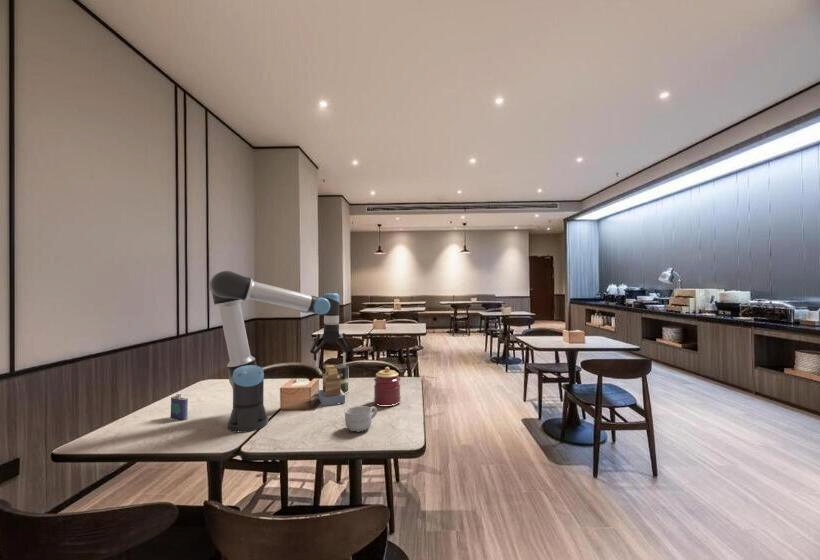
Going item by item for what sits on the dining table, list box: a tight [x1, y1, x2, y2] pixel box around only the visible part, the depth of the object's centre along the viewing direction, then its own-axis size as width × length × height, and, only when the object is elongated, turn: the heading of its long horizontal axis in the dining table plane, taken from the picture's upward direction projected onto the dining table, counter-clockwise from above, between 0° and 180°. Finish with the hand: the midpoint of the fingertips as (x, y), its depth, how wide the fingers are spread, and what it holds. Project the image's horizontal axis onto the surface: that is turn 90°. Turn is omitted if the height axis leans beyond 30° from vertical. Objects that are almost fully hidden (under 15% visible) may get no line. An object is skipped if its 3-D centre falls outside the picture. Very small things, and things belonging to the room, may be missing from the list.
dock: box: [318, 389, 346, 407], centre depth 181 cm, size 14×11×4 cm
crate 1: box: [325, 364, 335, 375], centre depth 185 cm, size 4×4×4 cm
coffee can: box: [333, 363, 350, 393], centre depth 196 cm, size 10×10×14 cm
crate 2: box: [328, 368, 337, 379], centre depth 177 cm, size 4×4×4 cm
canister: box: [373, 366, 401, 405], centre depth 177 cm, size 13×13×18 cm
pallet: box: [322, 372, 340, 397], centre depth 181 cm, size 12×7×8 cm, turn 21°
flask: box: [170, 393, 189, 421], centre depth 157 cm, size 9×3×11 cm, turn 68°
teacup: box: [344, 405, 378, 432], centre depth 144 cm, size 14×11×8 cm
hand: (330, 366), depth 181 cm, fingers open, 13 cm apart
